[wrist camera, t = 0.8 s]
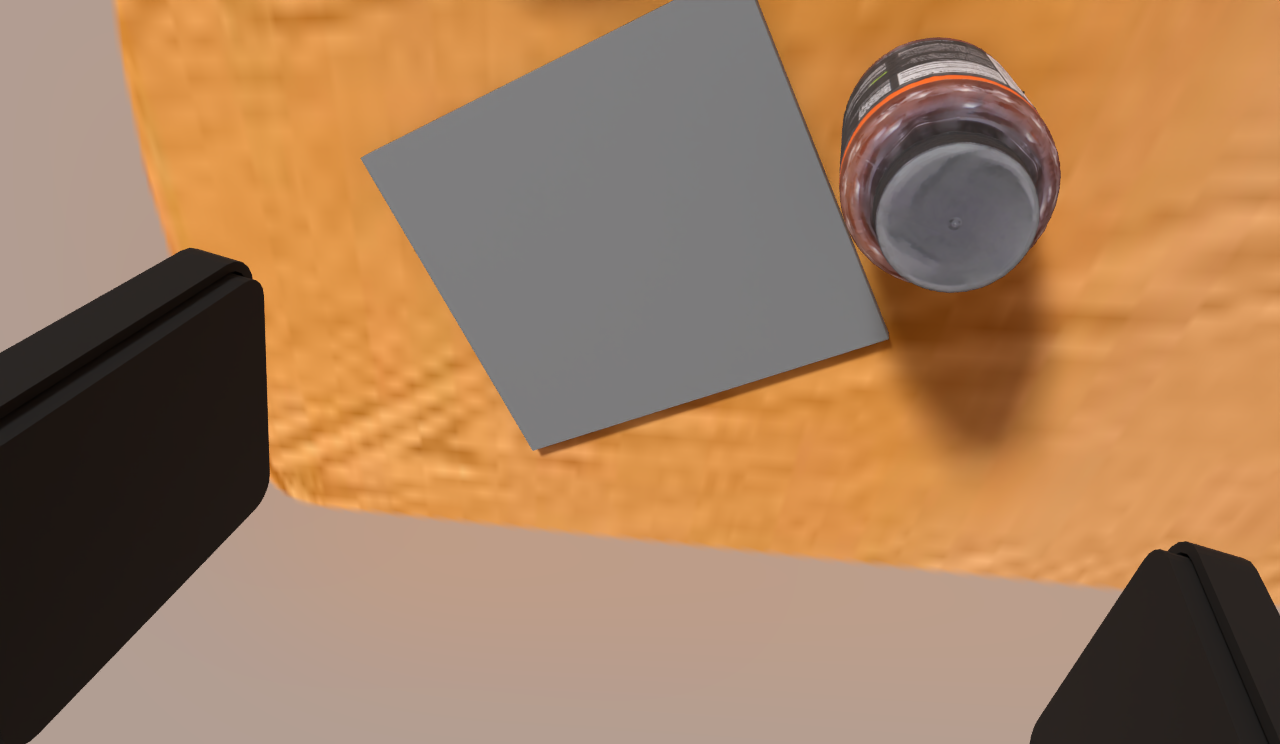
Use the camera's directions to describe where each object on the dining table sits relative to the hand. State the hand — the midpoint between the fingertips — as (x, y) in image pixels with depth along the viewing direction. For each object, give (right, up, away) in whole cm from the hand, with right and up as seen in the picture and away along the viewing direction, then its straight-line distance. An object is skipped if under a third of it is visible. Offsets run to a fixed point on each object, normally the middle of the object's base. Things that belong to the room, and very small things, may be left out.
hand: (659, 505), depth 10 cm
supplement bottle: (+10, +10, +23) cm, 27 cm away
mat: (-1, +7, +28) cm, 29 cm away
